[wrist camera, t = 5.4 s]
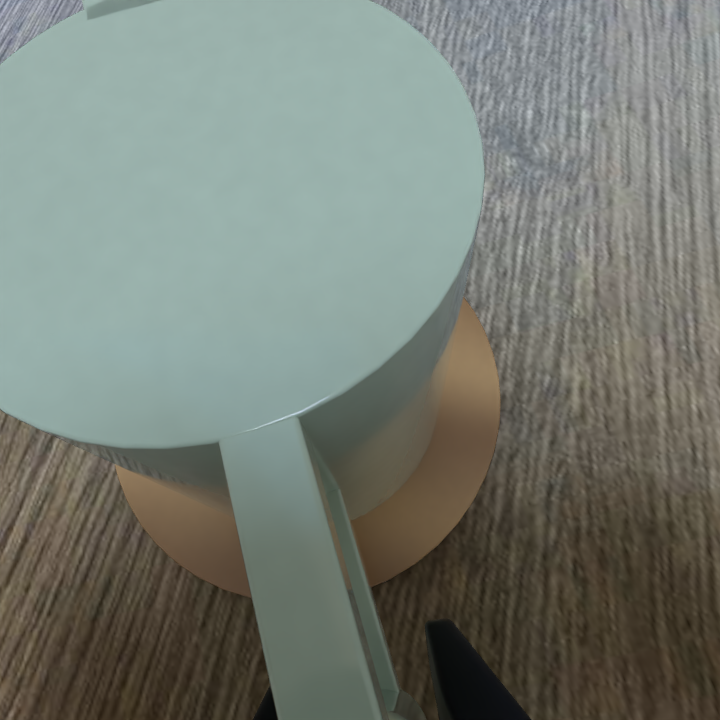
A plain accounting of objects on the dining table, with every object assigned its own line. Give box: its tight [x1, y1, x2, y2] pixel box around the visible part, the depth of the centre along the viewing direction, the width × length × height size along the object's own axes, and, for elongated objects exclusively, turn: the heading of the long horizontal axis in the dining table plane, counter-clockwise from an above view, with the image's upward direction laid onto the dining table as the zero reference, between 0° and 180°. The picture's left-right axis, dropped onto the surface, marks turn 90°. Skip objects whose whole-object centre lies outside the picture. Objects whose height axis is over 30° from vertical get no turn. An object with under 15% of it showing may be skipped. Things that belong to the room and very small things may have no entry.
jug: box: [0, 0, 485, 720], centre depth 12 cm, size 15×8×10 cm, turn 17°
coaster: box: [115, 297, 501, 598], centre depth 18 cm, size 12×12×1 cm
